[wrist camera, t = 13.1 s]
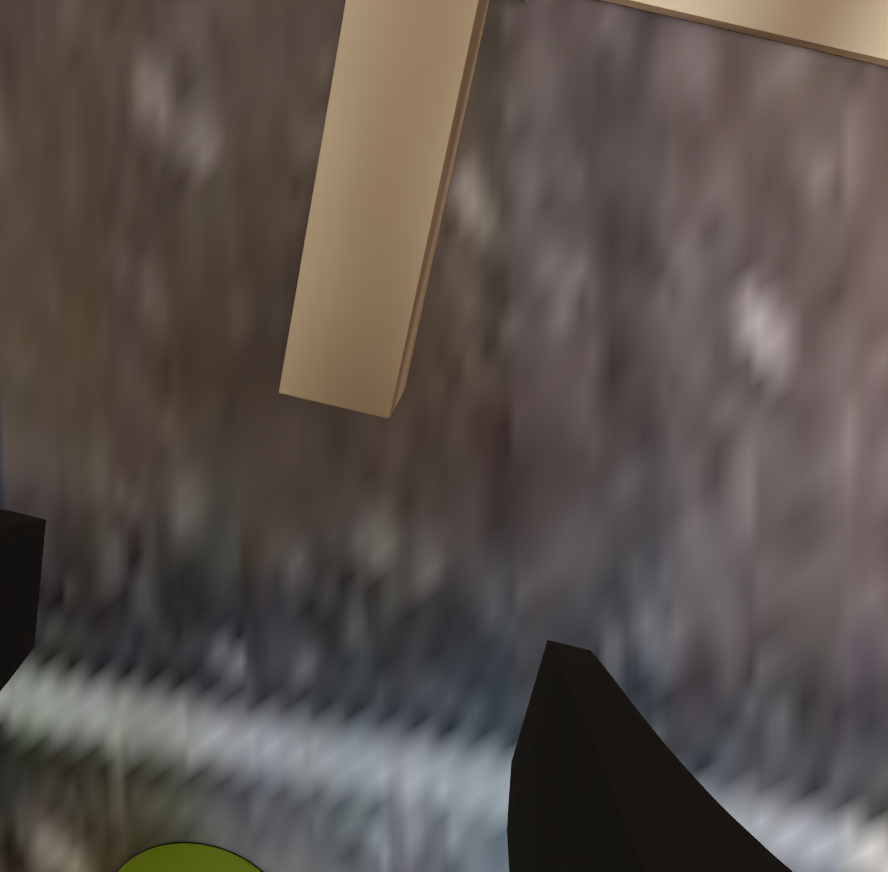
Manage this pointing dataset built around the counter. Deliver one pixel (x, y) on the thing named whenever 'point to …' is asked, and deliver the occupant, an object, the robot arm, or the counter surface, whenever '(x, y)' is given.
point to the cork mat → (792, 22)
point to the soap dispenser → (187, 860)
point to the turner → (379, 198)
